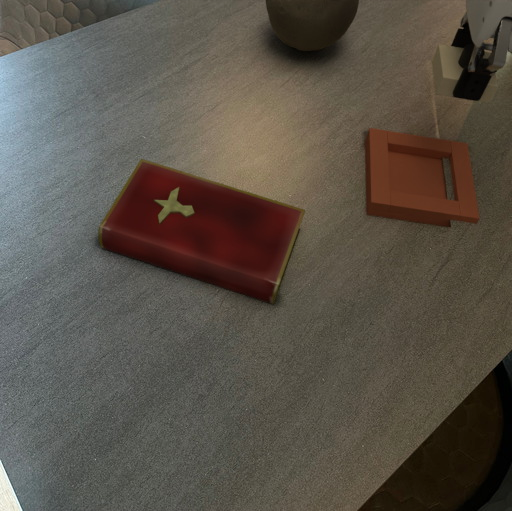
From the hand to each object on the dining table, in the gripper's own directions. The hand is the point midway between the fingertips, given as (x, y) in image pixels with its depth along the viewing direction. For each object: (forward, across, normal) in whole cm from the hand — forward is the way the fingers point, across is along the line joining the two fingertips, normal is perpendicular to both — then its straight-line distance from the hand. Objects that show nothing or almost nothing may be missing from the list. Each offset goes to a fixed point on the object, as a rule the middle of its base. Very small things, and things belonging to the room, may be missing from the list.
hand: (462, 77), depth 75 cm
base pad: (+16, -3, +1) cm, 16 cm away
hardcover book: (+16, -18, +28) cm, 37 cm away
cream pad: (+1, 0, 0) cm, 1 cm away
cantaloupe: (+16, +24, +18) cm, 34 cm away
